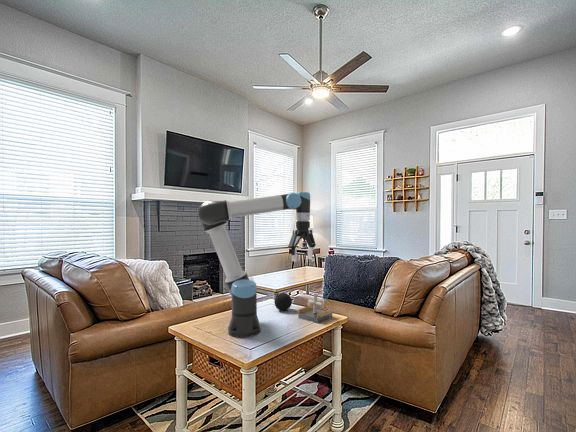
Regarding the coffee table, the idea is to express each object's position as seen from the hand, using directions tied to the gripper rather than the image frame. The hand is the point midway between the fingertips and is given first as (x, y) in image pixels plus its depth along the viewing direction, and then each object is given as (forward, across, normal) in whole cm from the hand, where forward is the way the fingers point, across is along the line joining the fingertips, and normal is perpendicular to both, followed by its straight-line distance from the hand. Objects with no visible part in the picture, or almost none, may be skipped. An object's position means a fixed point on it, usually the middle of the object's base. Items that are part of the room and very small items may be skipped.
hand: (302, 260), depth 170 cm
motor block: (+30, +4, -6) cm, 31 cm away
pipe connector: (+28, +4, -6) cm, 29 cm away
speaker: (+31, +2, +16) cm, 35 cm away
